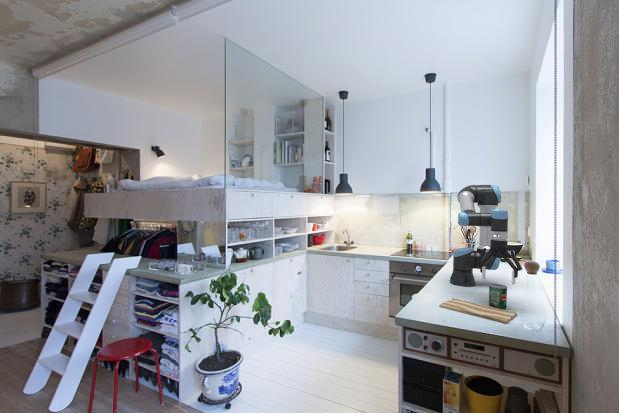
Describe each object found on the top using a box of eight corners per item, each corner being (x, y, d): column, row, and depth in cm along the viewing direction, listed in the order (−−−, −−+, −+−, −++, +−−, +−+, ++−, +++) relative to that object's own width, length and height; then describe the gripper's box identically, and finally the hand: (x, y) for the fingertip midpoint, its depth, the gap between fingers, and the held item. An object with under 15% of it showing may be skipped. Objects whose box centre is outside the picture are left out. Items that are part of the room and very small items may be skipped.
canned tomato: (508, 310, 156) (508, 288, 156) (490, 308, 159) (490, 286, 159) (504, 305, 164) (505, 284, 164) (487, 304, 167) (487, 283, 166)
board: (452, 300, 172) (452, 298, 172) (516, 315, 150) (517, 312, 150) (439, 306, 161) (439, 304, 161) (506, 323, 139) (506, 321, 139)
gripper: (470, 238, 167) (469, 278, 168) (525, 242, 149) (525, 287, 149) (475, 237, 173) (474, 276, 173) (530, 241, 154) (529, 285, 154)
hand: (498, 281), depth 161 cm, fingers open, 13 cm apart
